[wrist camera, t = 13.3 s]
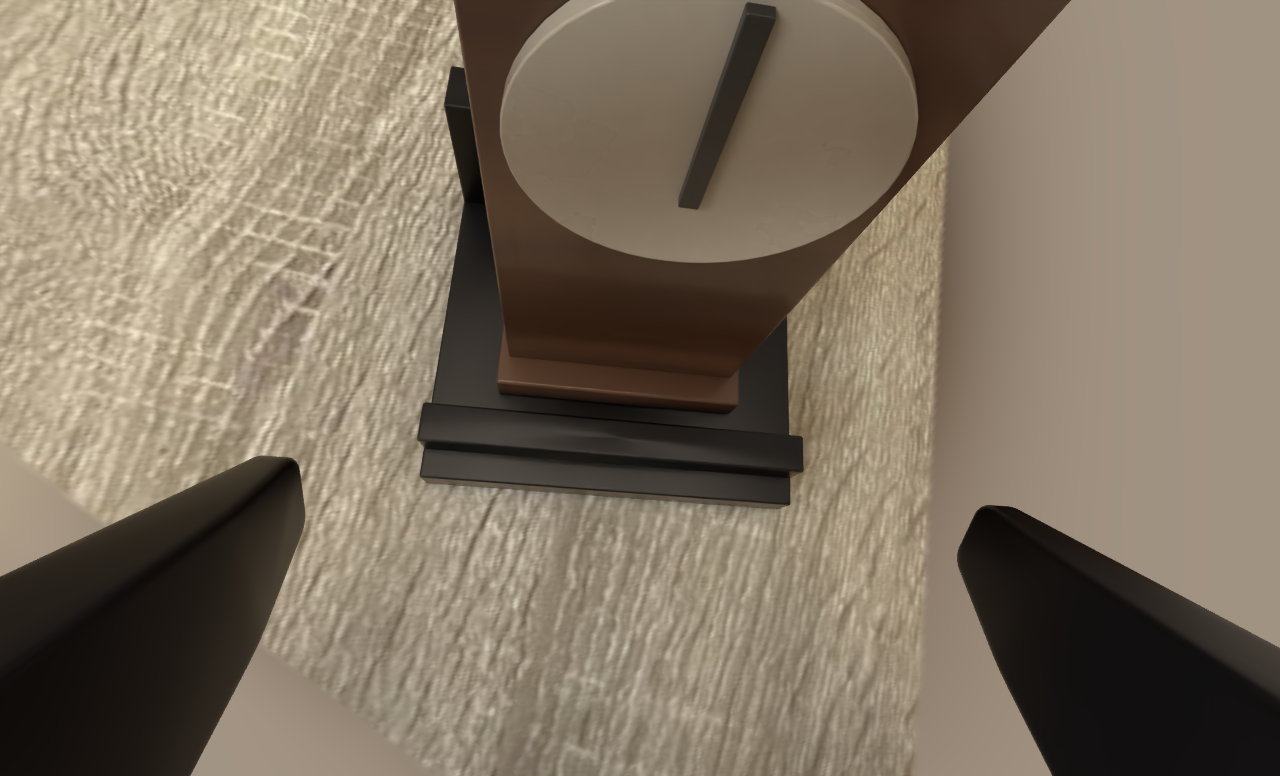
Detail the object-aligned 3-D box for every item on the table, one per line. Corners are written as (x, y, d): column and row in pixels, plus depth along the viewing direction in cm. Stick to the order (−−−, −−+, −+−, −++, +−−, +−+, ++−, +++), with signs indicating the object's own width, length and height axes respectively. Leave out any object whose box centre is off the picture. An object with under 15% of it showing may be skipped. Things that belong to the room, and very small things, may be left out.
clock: (729, 414, 18) (1253, -65, 5) (498, 394, 17) (338, -256, 4) (731, 259, 19) (1129, -435, 6) (518, 233, 19) (454, -624, 5)
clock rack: (778, 509, 18) (859, 483, 14) (425, 482, 17) (380, 444, 12) (774, 213, 21) (839, 107, 17) (475, 173, 20) (454, 47, 15)
